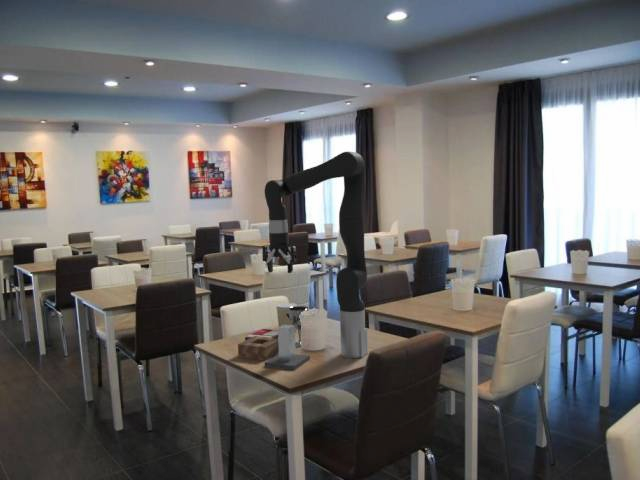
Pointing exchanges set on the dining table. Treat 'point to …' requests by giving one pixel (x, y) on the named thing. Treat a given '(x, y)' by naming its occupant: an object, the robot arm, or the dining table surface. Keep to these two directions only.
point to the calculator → (264, 334)
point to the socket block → (258, 348)
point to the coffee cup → (284, 314)
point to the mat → (287, 362)
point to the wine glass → (297, 319)
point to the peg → (286, 342)
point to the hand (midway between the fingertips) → (280, 272)
